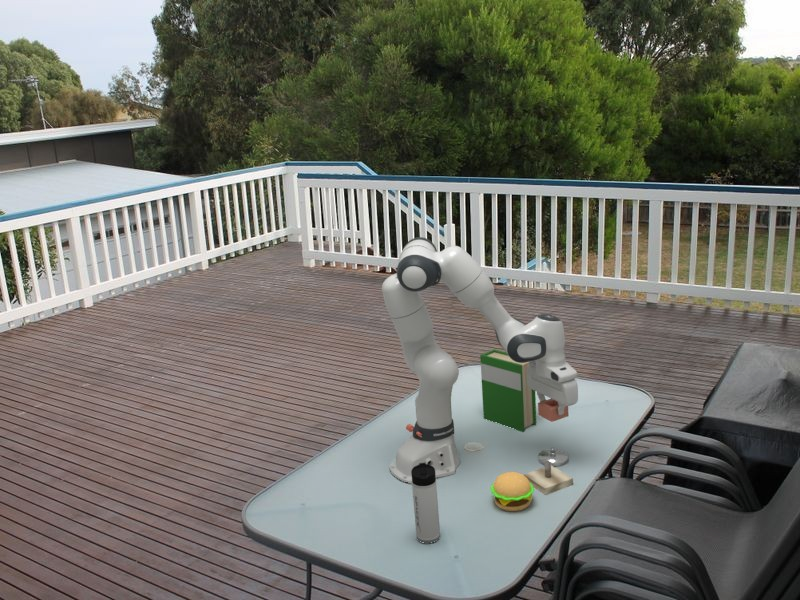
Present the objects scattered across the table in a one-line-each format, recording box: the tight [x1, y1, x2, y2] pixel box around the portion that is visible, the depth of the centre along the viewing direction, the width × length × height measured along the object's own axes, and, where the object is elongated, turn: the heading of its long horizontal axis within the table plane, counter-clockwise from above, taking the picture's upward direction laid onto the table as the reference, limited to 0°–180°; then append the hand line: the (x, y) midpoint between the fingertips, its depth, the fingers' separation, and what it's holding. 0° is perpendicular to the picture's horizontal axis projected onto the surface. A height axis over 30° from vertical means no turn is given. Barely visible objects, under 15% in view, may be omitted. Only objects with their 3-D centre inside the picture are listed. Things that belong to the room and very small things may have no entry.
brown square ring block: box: [537, 398, 569, 423], centre depth 226 cm, size 6×6×4 cm
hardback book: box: [479, 349, 537, 433], centre depth 256 cm, size 18×7×24 cm, turn 42°
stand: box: [523, 461, 574, 496], centre depth 216 cm, size 10×10×6 cm
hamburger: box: [489, 471, 535, 512], centre depth 207 cm, size 12×12×9 cm
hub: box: [537, 447, 569, 468], centre depth 229 cm, size 9×9×4 cm
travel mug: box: [411, 463, 441, 544], centre depth 192 cm, size 6×7×20 cm
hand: (551, 409), depth 225 cm, fingers closed on brown square ring block, 6 cm apart
